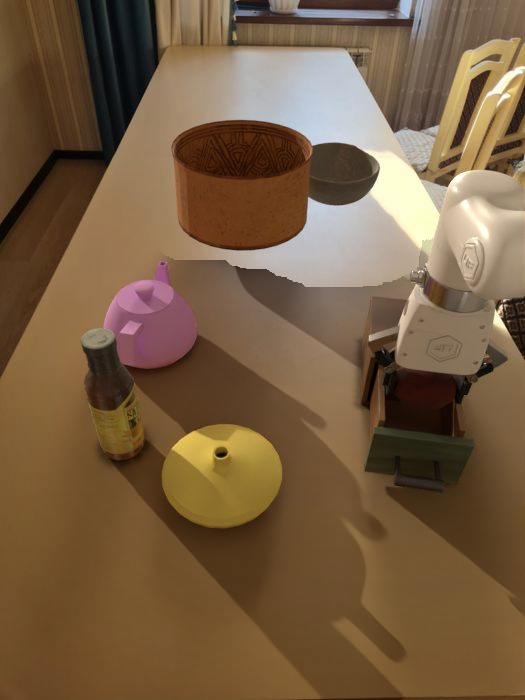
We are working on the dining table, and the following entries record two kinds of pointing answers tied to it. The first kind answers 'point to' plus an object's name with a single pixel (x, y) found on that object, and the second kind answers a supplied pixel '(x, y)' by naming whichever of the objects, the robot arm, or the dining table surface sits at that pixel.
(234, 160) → the pot
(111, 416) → the sauce bottle
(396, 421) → the drawer
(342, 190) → the bowl
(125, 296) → the teapot
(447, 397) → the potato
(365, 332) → the cabinet
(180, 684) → the dining table surface
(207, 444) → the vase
